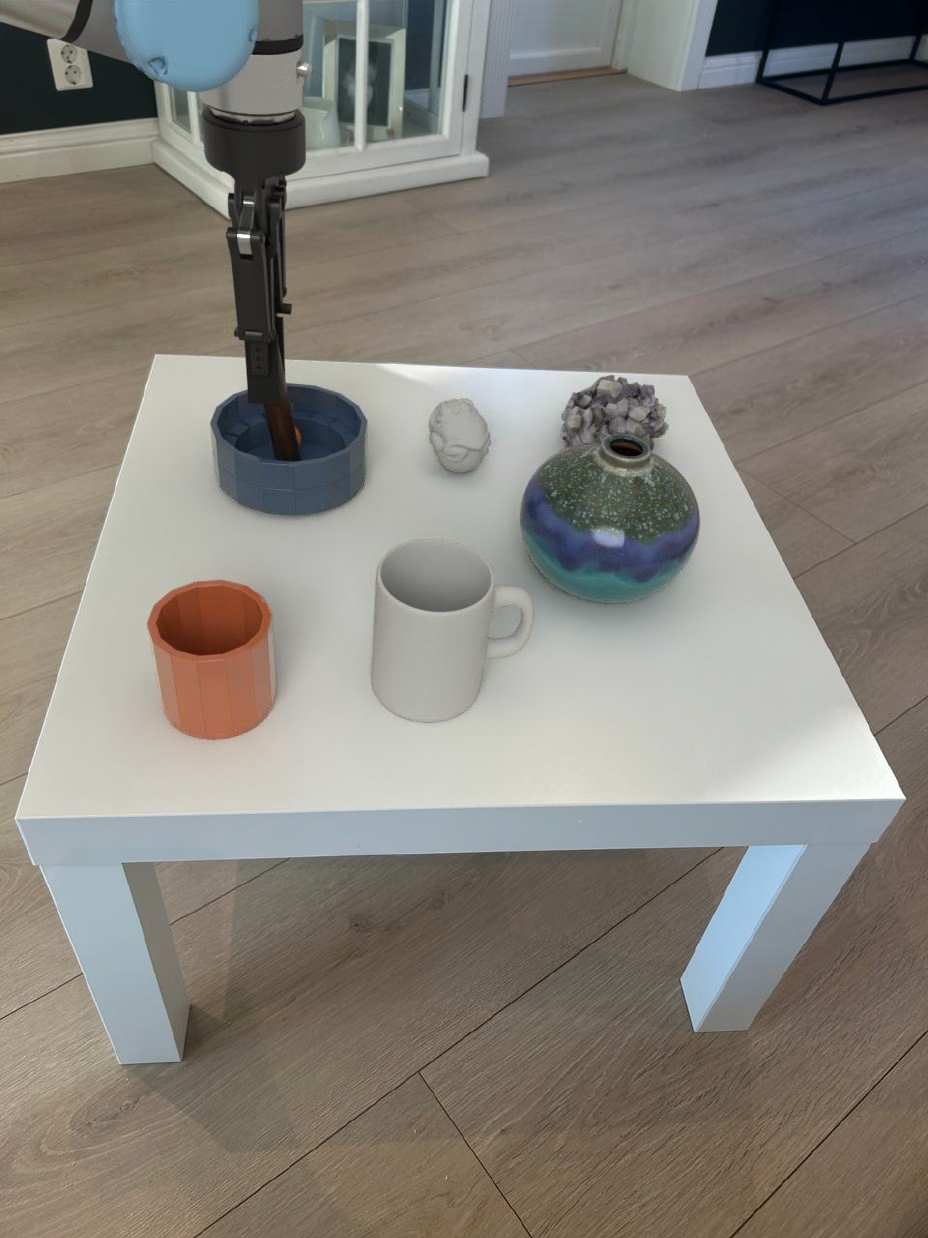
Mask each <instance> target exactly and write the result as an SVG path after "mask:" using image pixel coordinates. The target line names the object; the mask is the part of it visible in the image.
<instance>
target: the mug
mask: <svg viewBox="0 0 928 1238" xmlns="http://www.w3.org/2000/svg"><path fill="white" fill-rule="evenodd" d="M374 585H375V587H374V607H373V608H374V609H373V610H374V612H373V633H372V634H373V635H372V653H371V654H372V655H371V667H370V680H371V681H370V682H371V686H372V690H373V693H374V695H375V697H376V699H377V700H378V701H379V702H380V703H381V705H383V706H384V708H386V709H387V710H389V712H391V713H393V714H394V715H397V716H398V717H401V718H403V719H405V720H409V721H412V722H413V721H414V722H420V723H438V722H444V721H448V720H451V719H453V718H455V717H457V716H460V715H461V714H463V713H464V712H466V711H467V710H468V709H470V708H471V707H472V705H473V704H474V703H475V701H476V699H477V698H478V696H479V693H480V690H481V685H482V679H483V673H484V667H485V662H486V661H487V660H497V659H498V660H499V659H503V658H504V659H505V658H508V657H512V656H515V655H517V654H518V653H519V652H521V651H522V650H523V649H524V648H525V646H526V645H527V643H528V641H530V637H531V634H532V632H533V628H534V623H535V605H534V601H533V598H532V596H531V593H530V592H528V590H527V589H525V588H523V587H521V586H517V585H511V584H509V585H508V584H496V579H495V574H494V571H493V568H492V567H491V565H490V563H489V562H488V561H487V560H486V558H484V556H482V555H481V554H480V553H479V552H477V551H476V550H475V549H472V548H471V547H469V546H467V545H464V544H462V543H459V542H456V541H453V540H447V539H442V538H420V539H415V540H410V541H407V542H404V543H401V544H399V545H397V546H394V547H393V548H392V549H390V550H389V551H388V552H387V553H385V554H384V556H383V557H382V558H381V560H380V562H378V566H377V568H376V573H375V584H374ZM506 607H514V608H518V609H519V610H520V619H519V623H518V625H517V627H516V629H515V630H514V631H513V633H511V634H510V635H507V636H505V637H489V630H490V625H491V621H492V620H491V619H492V616H493V612H494V610H496V609H500V608H506Z"/></svg>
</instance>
